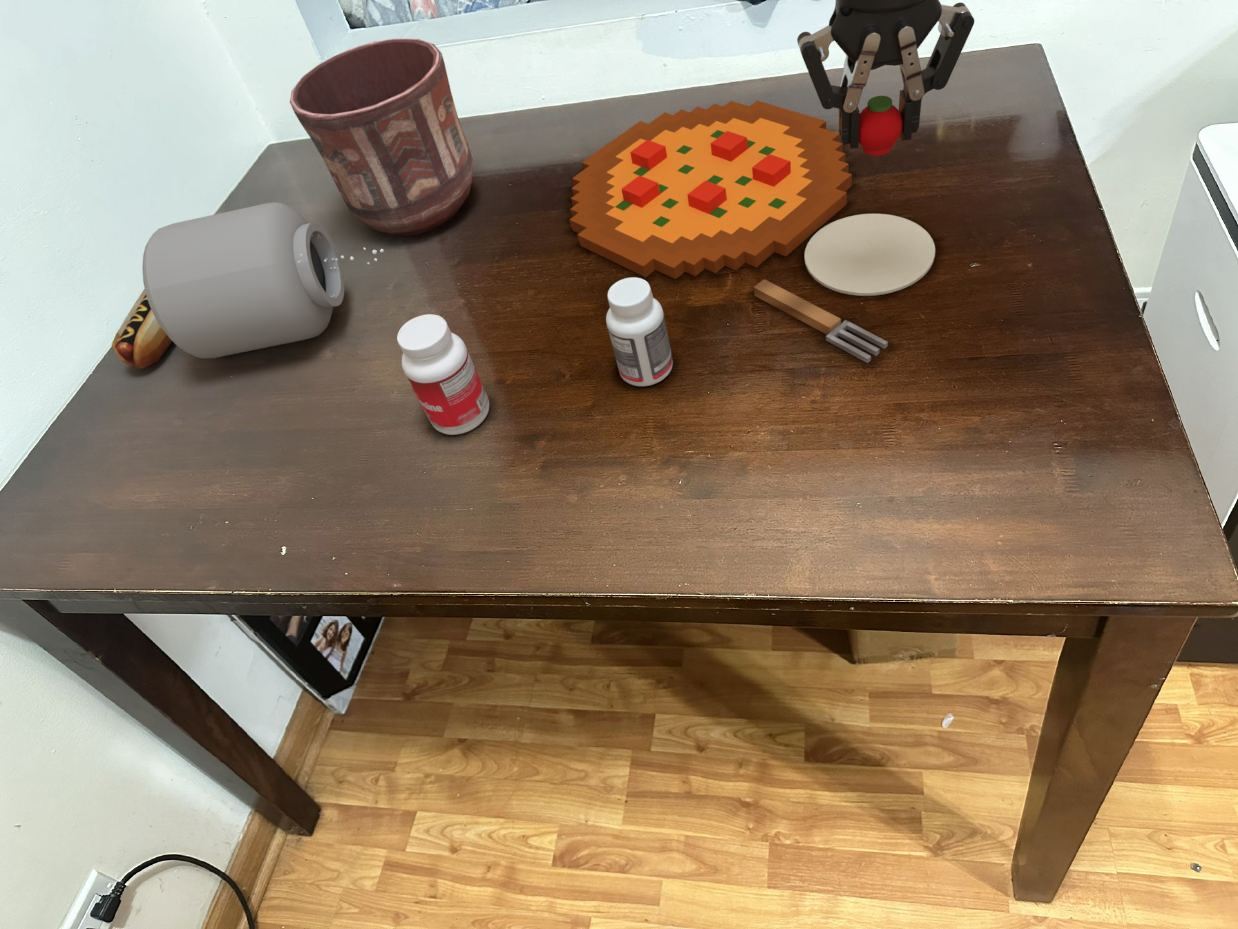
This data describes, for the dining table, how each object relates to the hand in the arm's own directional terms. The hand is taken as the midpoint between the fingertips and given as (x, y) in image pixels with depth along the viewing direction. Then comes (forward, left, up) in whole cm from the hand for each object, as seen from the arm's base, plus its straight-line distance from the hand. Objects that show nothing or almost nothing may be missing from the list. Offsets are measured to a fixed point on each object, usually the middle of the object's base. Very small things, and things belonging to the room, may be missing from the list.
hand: (878, 139), depth 76 cm
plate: (-2, -2, -15) cm, 16 cm away
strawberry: (0, 0, -1) cm, 1 cm away
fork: (+9, 0, -15) cm, 17 cm away
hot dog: (+57, -58, -15) cm, 83 cm away
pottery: (+23, -53, -15) cm, 60 cm away
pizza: (-1, -25, -15) cm, 30 cm away
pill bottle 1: (+40, -18, -15) cm, 46 cm away
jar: (+43, -46, -15) cm, 65 cm away
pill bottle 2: (+24, -8, -15) cm, 29 cm away
